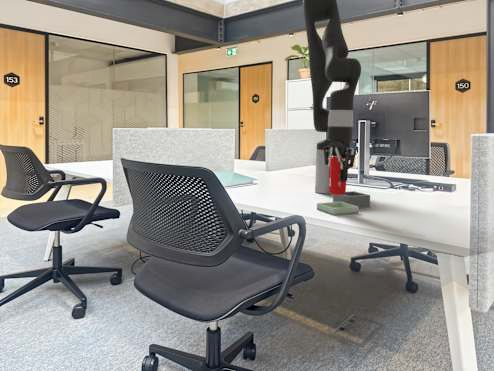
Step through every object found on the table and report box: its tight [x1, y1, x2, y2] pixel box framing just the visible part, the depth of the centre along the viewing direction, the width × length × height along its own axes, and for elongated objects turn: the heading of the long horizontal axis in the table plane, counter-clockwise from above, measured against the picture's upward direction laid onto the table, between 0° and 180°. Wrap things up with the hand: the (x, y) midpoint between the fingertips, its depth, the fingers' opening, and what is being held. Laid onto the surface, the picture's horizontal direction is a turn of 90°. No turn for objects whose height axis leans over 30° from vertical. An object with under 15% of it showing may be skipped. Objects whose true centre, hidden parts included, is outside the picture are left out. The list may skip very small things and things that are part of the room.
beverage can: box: [329, 156, 347, 196], centre depth 128 cm, size 5×5×12 cm
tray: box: [316, 201, 360, 216], centre depth 130 cm, size 9×9×2 cm
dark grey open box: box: [332, 190, 371, 209], centre depth 139 cm, size 9×9×4 cm
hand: (337, 180), depth 129 cm, fingers closed on beverage can, 5 cm apart
